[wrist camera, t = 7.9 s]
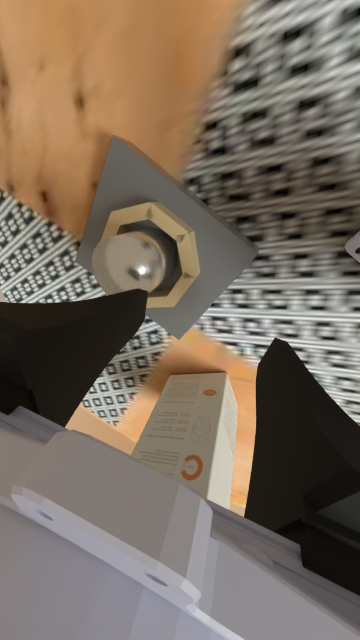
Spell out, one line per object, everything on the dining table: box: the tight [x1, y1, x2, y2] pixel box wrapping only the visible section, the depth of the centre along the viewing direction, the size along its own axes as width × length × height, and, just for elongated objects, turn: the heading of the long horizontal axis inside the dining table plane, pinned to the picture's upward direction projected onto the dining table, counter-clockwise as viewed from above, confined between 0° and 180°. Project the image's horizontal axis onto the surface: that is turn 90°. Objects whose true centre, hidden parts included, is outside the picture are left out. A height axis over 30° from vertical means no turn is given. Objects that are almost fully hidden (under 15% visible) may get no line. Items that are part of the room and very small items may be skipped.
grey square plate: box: [76, 135, 258, 340], centre depth 18 cm, size 13×11×4 cm
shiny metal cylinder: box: [92, 227, 178, 295], centre depth 16 cm, size 4×4×5 cm
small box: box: [131, 372, 238, 510], centre depth 22 cm, size 8×6×13 cm
